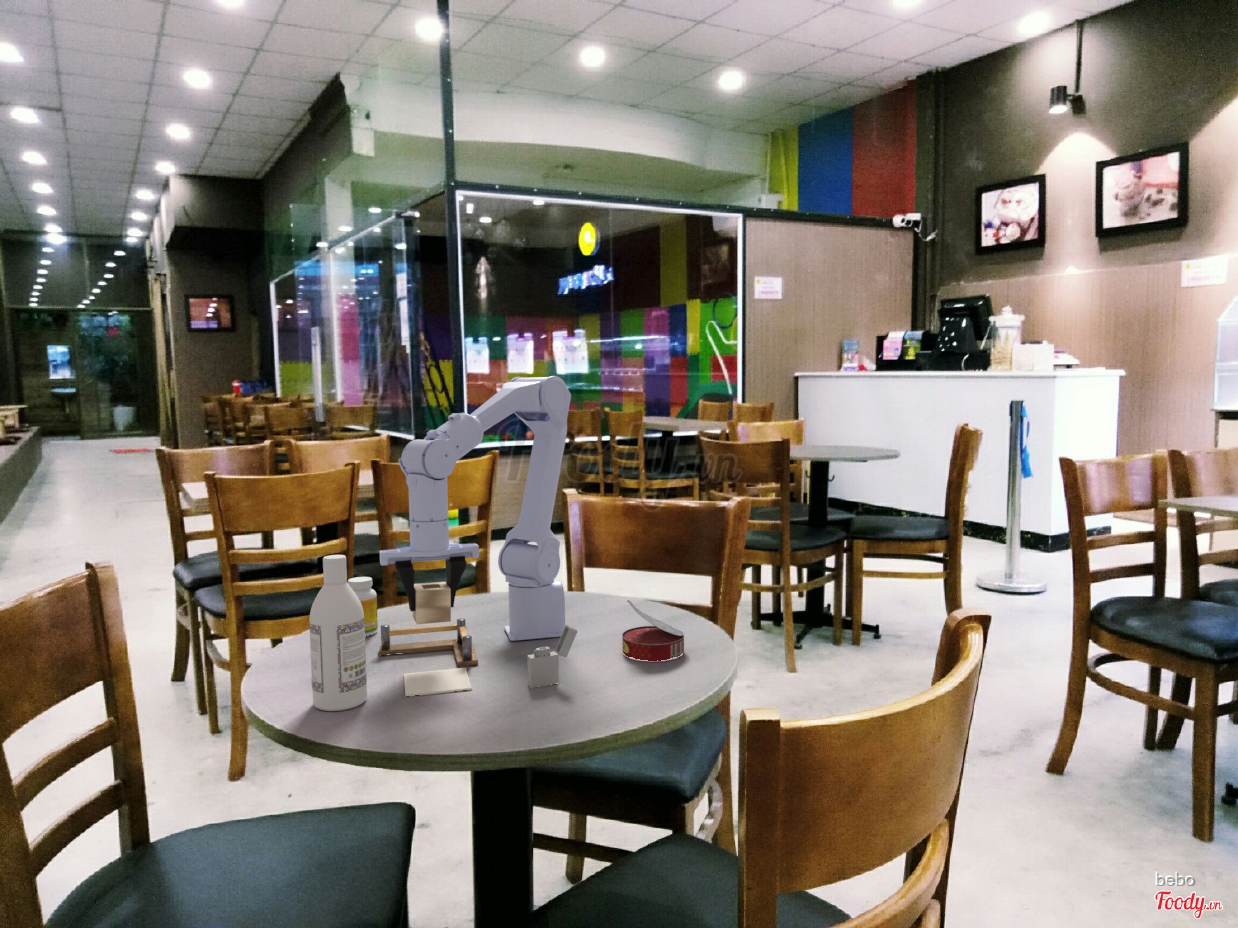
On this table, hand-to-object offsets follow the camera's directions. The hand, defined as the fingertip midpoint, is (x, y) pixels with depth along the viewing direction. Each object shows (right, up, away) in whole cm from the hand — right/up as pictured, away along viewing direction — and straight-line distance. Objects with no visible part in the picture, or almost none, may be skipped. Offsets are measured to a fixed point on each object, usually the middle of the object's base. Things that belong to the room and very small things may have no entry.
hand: (431, 607), depth 127 cm
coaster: (+2, -10, -7) cm, 12 cm away
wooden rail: (-2, -9, +4) cm, 10 cm away
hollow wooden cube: (0, -2, 0) cm, 2 cm away
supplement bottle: (-16, -8, +18) cm, 25 cm away
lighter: (+19, -10, -7) cm, 23 cm away
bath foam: (-9, -11, -14) cm, 20 cm away
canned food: (+34, -9, +6) cm, 36 cm away
